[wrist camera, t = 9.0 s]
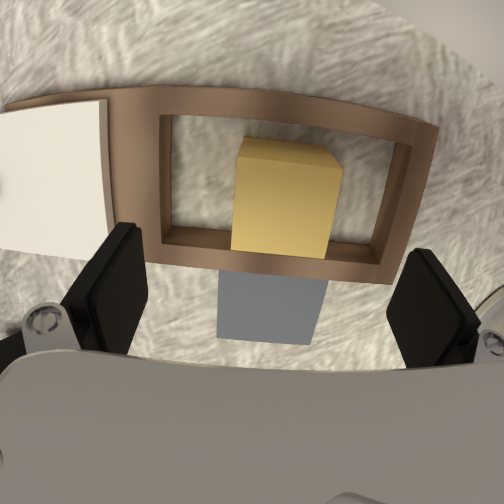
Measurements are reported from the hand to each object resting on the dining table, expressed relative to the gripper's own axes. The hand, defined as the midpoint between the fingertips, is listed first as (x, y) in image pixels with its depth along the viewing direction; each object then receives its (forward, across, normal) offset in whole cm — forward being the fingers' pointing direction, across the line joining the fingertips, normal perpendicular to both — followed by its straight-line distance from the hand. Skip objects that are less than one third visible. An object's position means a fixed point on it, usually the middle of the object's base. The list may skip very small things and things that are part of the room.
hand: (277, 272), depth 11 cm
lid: (+8, +15, 0) cm, 17 cm away
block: (+11, -1, 0) cm, 11 cm away
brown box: (+11, +4, 0) cm, 11 cm away
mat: (+10, -1, +10) cm, 15 cm away
